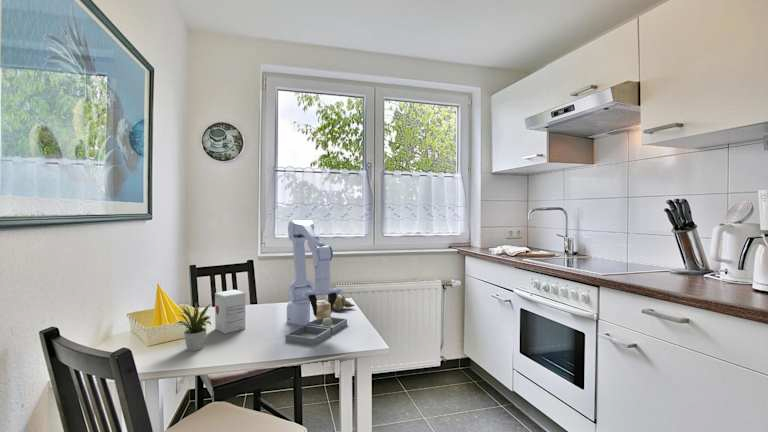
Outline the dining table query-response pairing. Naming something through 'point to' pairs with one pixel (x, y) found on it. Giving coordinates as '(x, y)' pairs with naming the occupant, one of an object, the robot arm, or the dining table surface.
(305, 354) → the dining table surface
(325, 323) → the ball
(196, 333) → the house plant
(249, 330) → the dining table surface
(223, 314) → the supplement box
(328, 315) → the letter cube
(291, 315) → the robot arm
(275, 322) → the dining table surface
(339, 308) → the ceramic sculpture
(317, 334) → the tray near
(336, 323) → the tray far
